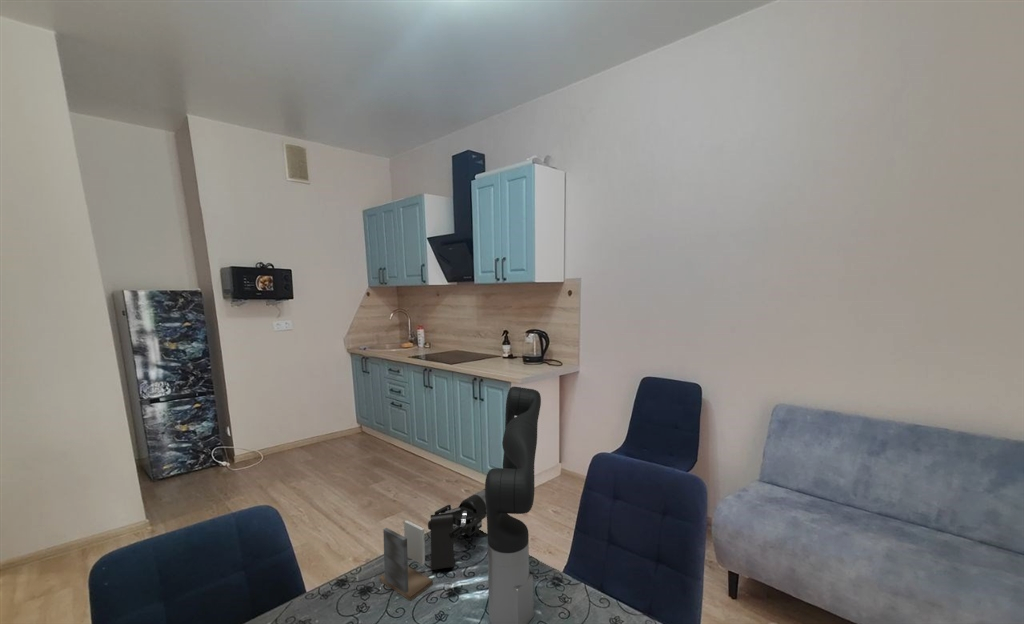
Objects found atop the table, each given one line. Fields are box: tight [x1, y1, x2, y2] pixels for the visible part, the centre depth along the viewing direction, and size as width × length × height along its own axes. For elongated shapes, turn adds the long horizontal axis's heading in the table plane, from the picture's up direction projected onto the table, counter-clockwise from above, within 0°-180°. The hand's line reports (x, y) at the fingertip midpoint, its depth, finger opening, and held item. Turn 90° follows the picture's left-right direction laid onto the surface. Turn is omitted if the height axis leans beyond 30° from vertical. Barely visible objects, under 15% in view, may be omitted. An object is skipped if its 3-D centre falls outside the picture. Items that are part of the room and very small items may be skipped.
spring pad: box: [403, 519, 426, 566], centre depth 105 cm, size 9×1×12 cm, turn 54°
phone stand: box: [430, 513, 455, 571], centre depth 111 cm, size 9×6×12 cm, turn 11°
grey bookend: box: [379, 527, 434, 602], centre depth 102 cm, size 12×7×14 cm, turn 54°
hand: (439, 531), depth 112 cm, fingers open, 8 cm apart
